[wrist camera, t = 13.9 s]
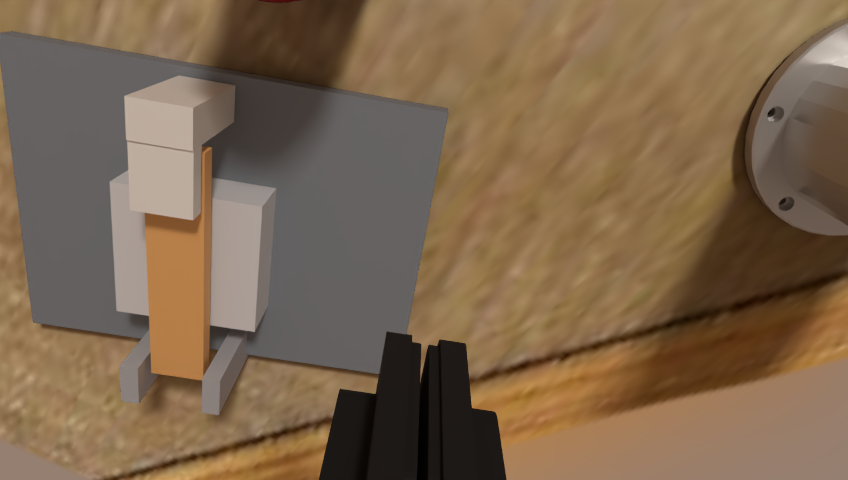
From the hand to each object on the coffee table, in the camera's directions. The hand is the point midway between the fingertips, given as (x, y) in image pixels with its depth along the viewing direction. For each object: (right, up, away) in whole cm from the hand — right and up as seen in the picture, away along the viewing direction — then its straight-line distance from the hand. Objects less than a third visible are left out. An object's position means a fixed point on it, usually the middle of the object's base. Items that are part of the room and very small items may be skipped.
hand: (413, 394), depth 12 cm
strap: (-13, +2, +20) cm, 24 cm away
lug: (-12, +9, +20) cm, 25 cm away
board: (-12, +5, +23) cm, 27 cm away
